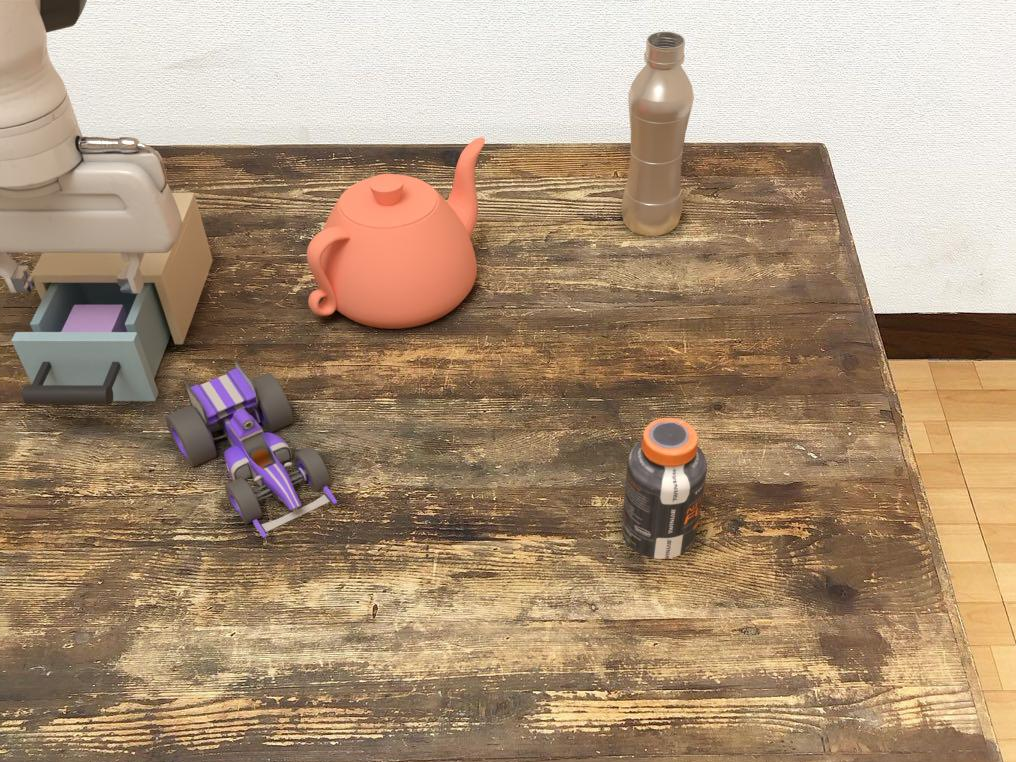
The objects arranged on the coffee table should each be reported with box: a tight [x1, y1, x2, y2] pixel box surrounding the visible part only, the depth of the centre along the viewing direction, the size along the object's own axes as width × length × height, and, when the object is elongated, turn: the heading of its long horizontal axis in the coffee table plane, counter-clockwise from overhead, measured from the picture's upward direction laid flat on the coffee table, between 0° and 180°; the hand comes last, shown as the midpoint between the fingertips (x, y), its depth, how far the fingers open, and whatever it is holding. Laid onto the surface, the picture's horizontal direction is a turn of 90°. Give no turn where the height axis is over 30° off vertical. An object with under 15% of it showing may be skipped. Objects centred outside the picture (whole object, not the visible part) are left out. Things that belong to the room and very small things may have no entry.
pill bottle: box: [621, 417, 708, 560], centre depth 81 cm, size 6×6×11 cm
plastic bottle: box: [620, 31, 695, 237], centre depth 107 cm, size 6×7×20 cm
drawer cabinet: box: [30, 192, 214, 345], centre depth 102 cm, size 14×12×9 cm
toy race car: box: [165, 360, 339, 539], centre depth 88 cm, size 10×15×6 cm, turn 35°
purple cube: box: [61, 305, 127, 332], centre depth 96 cm, size 4×4×4 cm
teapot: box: [306, 136, 486, 330], centre depth 103 cm, size 22×16×12 cm
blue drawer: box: [10, 283, 172, 406], centre depth 95 cm, size 17×10×7 cm, turn 0°
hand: (78, 289), depth 92 cm, fingers open, 8 cm apart
